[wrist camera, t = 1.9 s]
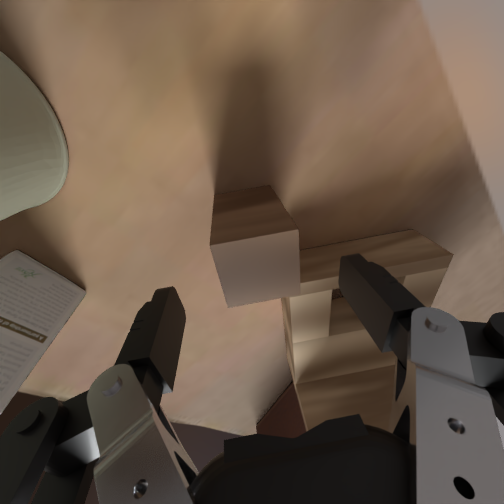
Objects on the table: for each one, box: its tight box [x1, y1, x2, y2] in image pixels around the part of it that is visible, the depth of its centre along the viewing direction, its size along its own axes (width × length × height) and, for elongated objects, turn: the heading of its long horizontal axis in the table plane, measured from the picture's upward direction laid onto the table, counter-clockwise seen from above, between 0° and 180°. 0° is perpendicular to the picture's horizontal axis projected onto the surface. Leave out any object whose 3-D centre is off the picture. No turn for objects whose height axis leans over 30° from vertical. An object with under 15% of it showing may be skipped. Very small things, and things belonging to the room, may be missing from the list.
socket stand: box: [281, 229, 454, 432], centre depth 16 cm, size 18×14×18 cm
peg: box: [210, 185, 301, 308], centre depth 14 cm, size 4×4×7 cm
